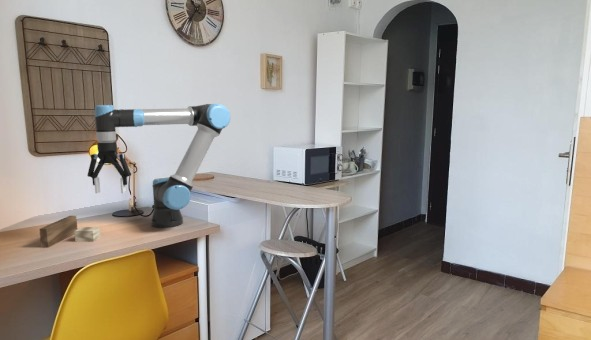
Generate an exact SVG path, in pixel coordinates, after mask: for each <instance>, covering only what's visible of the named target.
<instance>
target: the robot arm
mask: <svg viewBox="0 0 591 340" xmlns="http://www.w3.org/2000/svg"><path fill="white" fill-rule="evenodd" d="M230 113H231V112H230V111H229V108H227V107H226V106H225V105H224V104H220V103H205V104H201V105H193V106H188V107H187V108H143V109H142V108H141V109H140V108H138V109H137V108H133V109H126V108H125V109H121V108H120V109H115V107H114V105H113V104H98V105H95V107H94V121H95V130H96V132H95V134H96V141H97V144H96V145H97V147H96V148H97V152H98V153H92V154H91V155H90V164H89V167H88V171H87V177H90V178H91V180H92V186H94V192H95V194H99V193H101V183H100V177H99V174H100V172H101V170H102V169H103V167H104V165H107V164H109V165H112V166H114V168H115V170H116V171H117V172H118V173H119V175H120V177H121V178H119V179H120V180H119V181H120V193H121V194H125V193H126V192H127V191H126V189H127V188H126V186H127V185H128V177H130V176H132V173H131V169H130V168H129V166H128V162H127V161H126V157H125V156H126V155H125V153H118V148H117V147H118V146H117V142H116V141H117V134H116V133H117V132H116V131H117V130H116V128H132V127H133V128H134V127H135V128H137V127H143V126H160V125H161V126H162V125H188V126H190V127H194V126H195V127H197V130H196V132H195V134H194V136H193V138H192V140H191V142H190V143H189V146H188V148H187V150H186V151H185V154H184V156H183V158H182V159H181V161H180V163H179V166H178V167H177V169H176V172H175V173H174V174H171V175H170V176H169V177H164V178H162V177H161V178H155V179H153V180H152V186H151V187H152V192H153V194H152V195H153V196H152V197H153V208H154V209H153V212H152V217H151V222H150V224H151V226H152V227H154V228H160V229H161V228H172V227H176V226H177V227H178V226H180V225H182V224H184V218H183V215H182V212H181V210H182V209H185V207H187V206H188V205H189V203H190V201H191V198H192V196H191V192H192V189H193V188H194V184H193V181H194V178H195V176H196V175H197V172H198V171H199V168H200V167H201V165H202V163H203V161H204V159H205V157H206V155H207V153H208V151H209V149H210V147H211V145H212V142H213V141H214V140H215V138H216V137H218V136H220V134H221V133H222V130H223V129H225V128H226V127H228V125H229V124H230V122H231V114H230ZM98 159H99V161H98V163H97V160H98ZM118 159H119V161H118ZM96 164H97V166H96ZM120 164H121V165H120Z"/></svg>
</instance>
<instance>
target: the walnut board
mask: <svg viewBox="0 0 591 340" xmlns="http://www.w3.org/2000/svg"><path fill="white" fill-rule="evenodd" d="M77 229H78V220H77V215H68V216H66V217H64V218H61V219H59V220H56V221H54V222H51V223H50V224H47V225H45V226H43V227H40V228H39V237H40V238H39V239H40V245H41V248H49V247H52V246H54V245H55V244H58V243H60V242H62V241H64V240H65V239H68V238H69V237H71V236H73V235H75V232H74V231H75V230H77Z"/></svg>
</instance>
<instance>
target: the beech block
mask: <svg viewBox="0 0 591 340" xmlns="http://www.w3.org/2000/svg"><path fill="white" fill-rule="evenodd" d="M74 232H75V234H74V240H75V243H77V242H78V243H80V242H81V243H87V242H88V243H90V242H91V243H94V242H95V241H97V240H99V239H101V231H100V226H81V227H79V228H77V230H75V231H74Z"/></svg>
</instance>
